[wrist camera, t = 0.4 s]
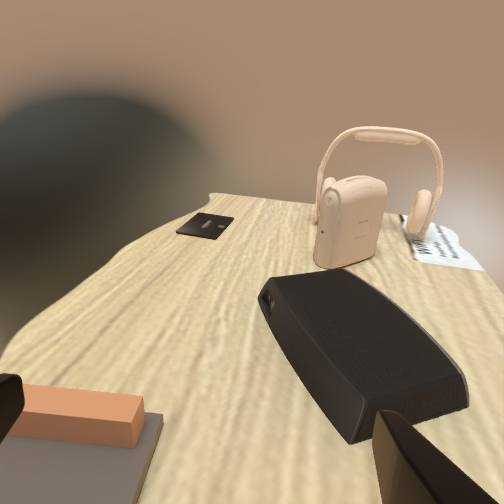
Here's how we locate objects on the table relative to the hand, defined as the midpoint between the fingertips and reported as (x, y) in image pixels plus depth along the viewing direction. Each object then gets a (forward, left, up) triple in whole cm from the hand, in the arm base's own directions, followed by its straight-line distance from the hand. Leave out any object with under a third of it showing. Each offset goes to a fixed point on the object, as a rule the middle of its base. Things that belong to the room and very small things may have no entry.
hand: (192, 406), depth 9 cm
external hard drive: (+22, -10, -16) cm, 29 cm away
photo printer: (+41, -13, -16) cm, 46 cm away
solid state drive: (+49, +9, -16) cm, 53 cm away
